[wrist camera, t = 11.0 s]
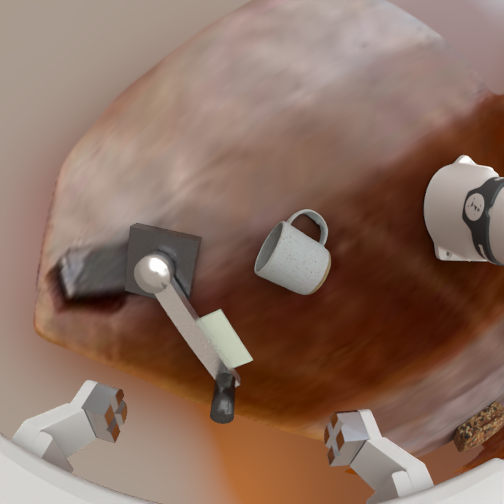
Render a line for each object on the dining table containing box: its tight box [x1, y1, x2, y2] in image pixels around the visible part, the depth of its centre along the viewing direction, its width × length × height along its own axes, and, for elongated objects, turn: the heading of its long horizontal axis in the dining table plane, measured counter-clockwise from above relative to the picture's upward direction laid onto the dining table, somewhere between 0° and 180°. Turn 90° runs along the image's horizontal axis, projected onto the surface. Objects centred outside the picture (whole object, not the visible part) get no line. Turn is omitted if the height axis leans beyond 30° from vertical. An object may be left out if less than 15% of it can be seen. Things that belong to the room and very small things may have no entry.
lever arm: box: [134, 251, 240, 424], centre depth 36 cm, size 24×5×10 cm, turn 27°
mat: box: [200, 309, 253, 368], centre depth 45 cm, size 11×8×1 cm
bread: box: [453, 402, 504, 452], centre depth 53 cm, size 19×11×10 cm, turn 110°
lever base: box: [125, 223, 201, 302], centre depth 40 cm, size 10×10×2 cm
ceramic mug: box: [255, 209, 331, 295], centre depth 37 cm, size 11×8×8 cm
